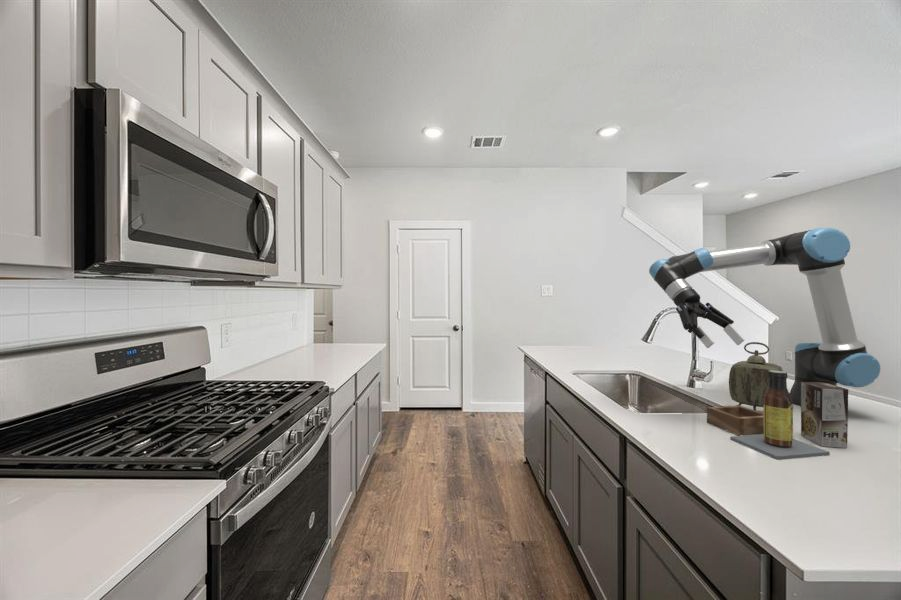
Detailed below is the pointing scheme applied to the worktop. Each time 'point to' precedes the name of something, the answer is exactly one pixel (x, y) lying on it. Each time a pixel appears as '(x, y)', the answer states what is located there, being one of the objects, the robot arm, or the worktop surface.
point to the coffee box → (824, 414)
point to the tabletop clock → (751, 379)
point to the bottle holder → (736, 419)
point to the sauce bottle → (778, 411)
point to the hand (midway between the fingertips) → (726, 344)
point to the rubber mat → (777, 452)
